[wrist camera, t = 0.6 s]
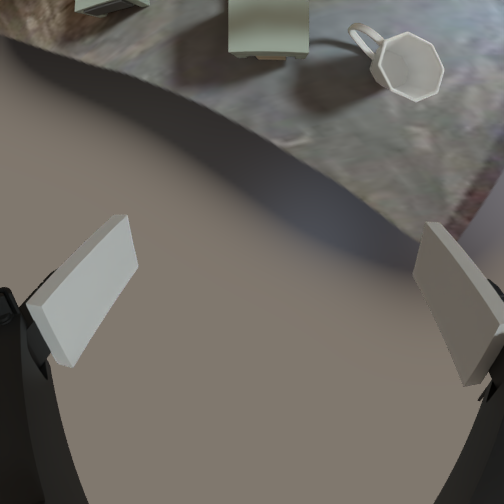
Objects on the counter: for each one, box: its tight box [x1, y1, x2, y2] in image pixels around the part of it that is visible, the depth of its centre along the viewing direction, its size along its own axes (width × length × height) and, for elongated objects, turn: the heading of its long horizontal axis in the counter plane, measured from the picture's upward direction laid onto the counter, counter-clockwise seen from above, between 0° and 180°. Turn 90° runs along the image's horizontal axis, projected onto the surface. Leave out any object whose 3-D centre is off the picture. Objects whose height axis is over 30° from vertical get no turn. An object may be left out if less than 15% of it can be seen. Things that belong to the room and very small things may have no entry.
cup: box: [348, 23, 444, 102], centre depth 25 cm, size 7×10×8 cm
